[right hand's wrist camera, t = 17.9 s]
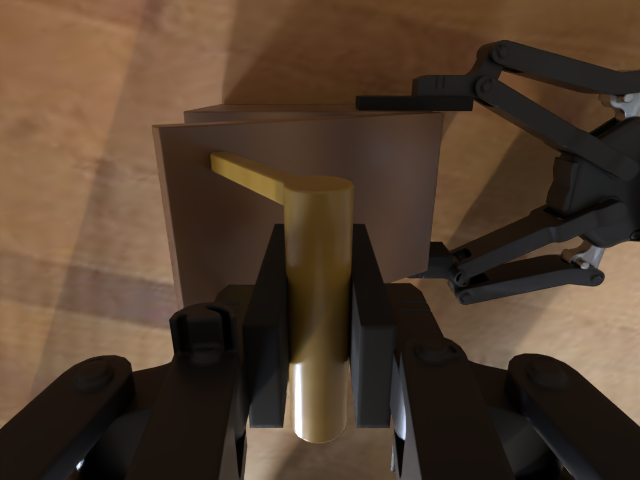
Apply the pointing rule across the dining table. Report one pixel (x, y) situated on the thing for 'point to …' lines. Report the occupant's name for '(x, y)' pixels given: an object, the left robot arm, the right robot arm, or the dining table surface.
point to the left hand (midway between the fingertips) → (354, 183)
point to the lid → (300, 225)
